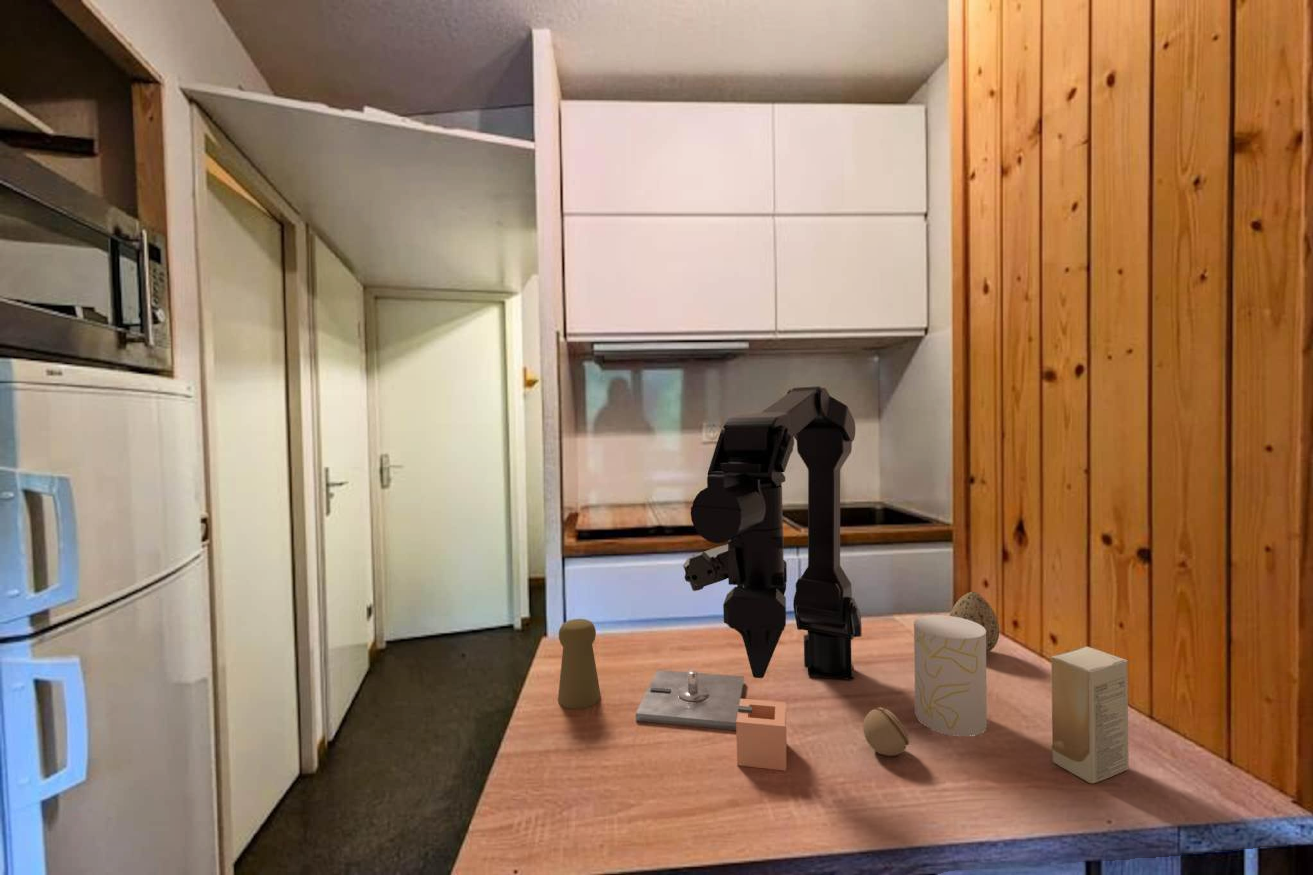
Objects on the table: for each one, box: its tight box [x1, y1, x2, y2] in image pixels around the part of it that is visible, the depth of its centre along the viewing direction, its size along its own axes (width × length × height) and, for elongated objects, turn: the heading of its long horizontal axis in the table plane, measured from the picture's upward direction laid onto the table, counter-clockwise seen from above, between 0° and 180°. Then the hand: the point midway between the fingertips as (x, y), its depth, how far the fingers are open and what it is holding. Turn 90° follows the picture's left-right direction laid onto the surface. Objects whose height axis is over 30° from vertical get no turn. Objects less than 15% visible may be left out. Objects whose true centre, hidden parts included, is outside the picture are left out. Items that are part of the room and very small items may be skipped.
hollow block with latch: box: [735, 698, 788, 771], centre depth 67 cm, size 5×5×5 cm
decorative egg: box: [949, 591, 1000, 654], centre depth 93 cm, size 7×7×10 cm
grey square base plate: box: [635, 669, 745, 731], centre depth 80 cm, size 13×13×4 cm
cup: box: [913, 614, 988, 737], centre depth 73 cm, size 8×8×12 cm
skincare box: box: [1050, 646, 1130, 784], centre depth 63 cm, size 6×4×12 cm
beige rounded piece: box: [862, 707, 910, 757], centre depth 67 cm, size 5×5×5 cm
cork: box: [557, 618, 602, 710], centre depth 81 cm, size 6×6×11 cm
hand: (760, 659), depth 67 cm, fingers open, 9 cm apart
